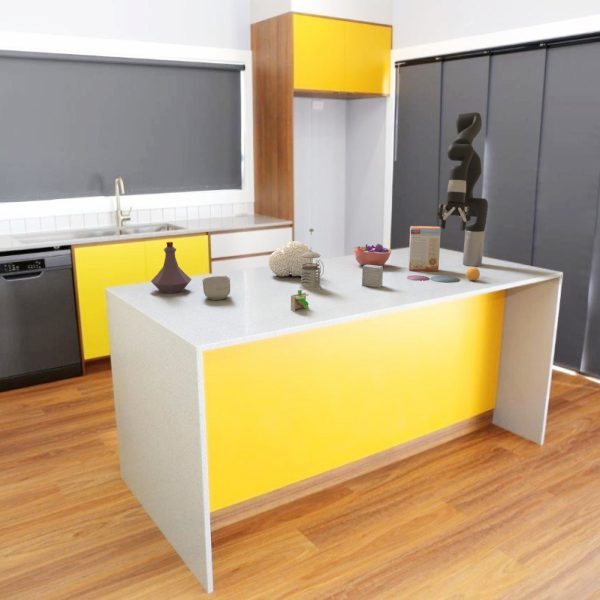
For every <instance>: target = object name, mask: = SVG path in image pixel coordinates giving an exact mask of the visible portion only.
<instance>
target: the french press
mask: <svg viewBox="0 0 600 600" xmlns="http://www.w3.org/2000/svg"><path fill="white" fill-rule="evenodd" d="M308 232H310V234H312V232H314V229H313V228H309V229H308ZM301 256H302V257H304V258H313V259H316V260H315V263H314V262H313V263H305V264H303V266H304V267H302V268H301V274H302V275H301V276H300V277H301V278H300V279H301V284H300V285H299V286H298V288H299V289H300V290H306V291H317V290H322V288H323V287H322V286H321V277H322V276H323V275H324V272H325V270H324V269H325V267H324V263H323V261H321V259H319V260H318V258H320V257H321V254H320V253H318V252H317V251H316V252H315V251H312V250H310V252H305V253H304V254H302V255H301ZM320 263H321V264H320ZM321 265H322V266H321Z"/></svg>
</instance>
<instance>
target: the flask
mask: <svg viewBox="0 0 600 600" xmlns="http://www.w3.org/2000/svg"><path fill="white" fill-rule="evenodd" d="M173 245H174V242H173V241H166V247H164V249H163V251H164V253H165V257H164V262H163V266H162V267H161V269H160V270H159V271H158V273H157V274H156V275H155V276H154V277H153V278H152V279H151V280H150V282H151V283H152V285H154V286H155V287H156V289H158V291H160V292H162V293H164V294H177V293H182V292H183V291H184V290H185V288H186V287H188V285H189V284H190V282H191V281H192V278H191V277H190V276H189V275H188V274H187V273H185V271H184V270H183V269H181V268H180V266H179V264H178V261H177V257H176V251H177V248H176V247H174V246H173Z"/></svg>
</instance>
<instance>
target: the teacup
mask: <svg viewBox="0 0 600 600" xmlns="http://www.w3.org/2000/svg"><path fill="white" fill-rule="evenodd" d="M202 288H203V289H202V290H203V294H204V295H205V297H207V298H208V299H209V300H212V301H217V300H218V301H219V300H224V299H226V298H227V297H228V296H229V295H230V294H231V277H229V276H228V275H216V276H215V275H214V276H208V277H204V278H203V279H202Z"/></svg>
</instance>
